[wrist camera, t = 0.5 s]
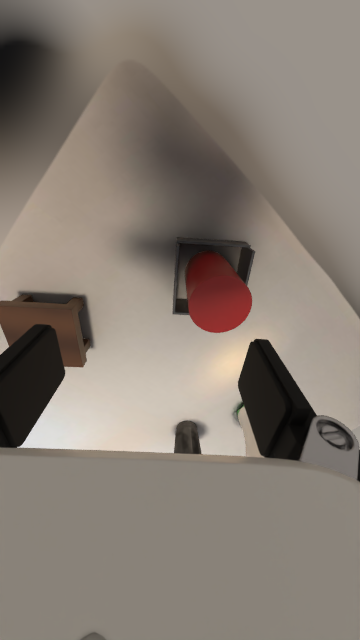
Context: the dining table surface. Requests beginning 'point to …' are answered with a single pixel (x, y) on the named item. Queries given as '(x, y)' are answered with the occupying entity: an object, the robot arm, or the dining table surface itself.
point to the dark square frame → (246, 252)
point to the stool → (61, 317)
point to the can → (215, 293)
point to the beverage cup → (187, 439)
